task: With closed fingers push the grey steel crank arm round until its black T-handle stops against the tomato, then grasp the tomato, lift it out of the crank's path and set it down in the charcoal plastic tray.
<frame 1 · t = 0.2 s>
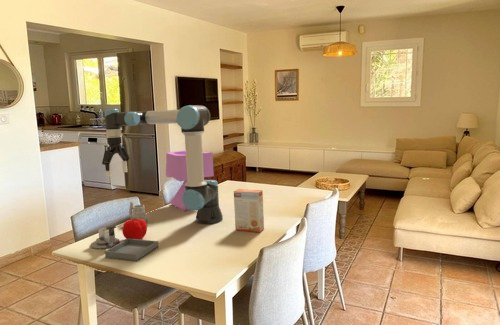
hand: (117, 174, 213), 28 cm above the table, fingers open, 13 cm apart
crank base: (105, 244, 182), on the table
pink table lamp: (191, 205, 249), on the table
crank: (107, 232, 177), point 7 cm above the table, hinge at 0.0°
tray: (132, 252, 170), on the table
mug: (137, 222, 215), on the table
cracker box: (249, 230, 195), on the table
tomato: (135, 239, 187), on the table
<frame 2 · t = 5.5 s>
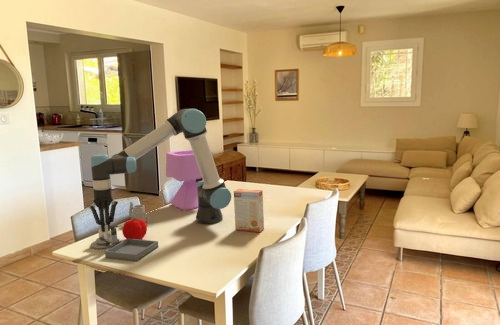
hand: (106, 238, 175), 5 cm above the table, fingers closed
crank: (108, 231, 178), point 7 cm above the table, hinge at 5.4°, touching gripper
everything else where it was.
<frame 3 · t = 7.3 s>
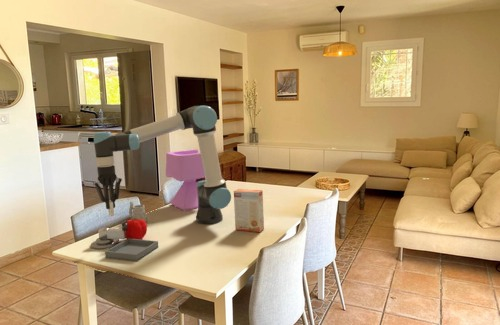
hand: (111, 215, 176), 15 cm above the table, fingers closed
crank: (113, 230, 180), point 7 cm above the table, hinge at 40.4°
everything else where it was.
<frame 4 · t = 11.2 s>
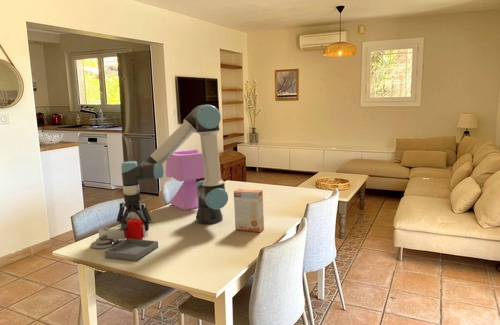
hand: (135, 236, 187), 2 cm above the table, fingers closed on tomato, 11 cm apart
tomato: (136, 239, 187), on the table, touching gripper
everything else where it was.
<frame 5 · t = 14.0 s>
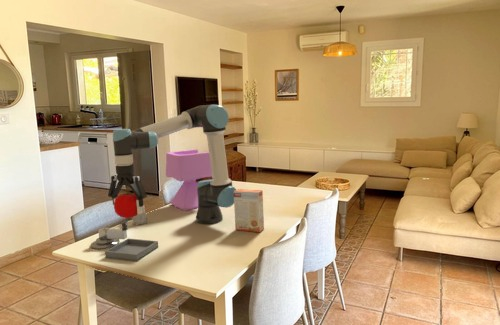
hand: (128, 212, 168), 18 cm above the table, fingers closed on tomato, 11 cm apart
tomato: (129, 217, 168), point 16 cm above the table, touching gripper
everything else where it was.
when the fingers open (5 cm above the table, at t = 17.2 s): tomato drops 2 cm, resting on tray.
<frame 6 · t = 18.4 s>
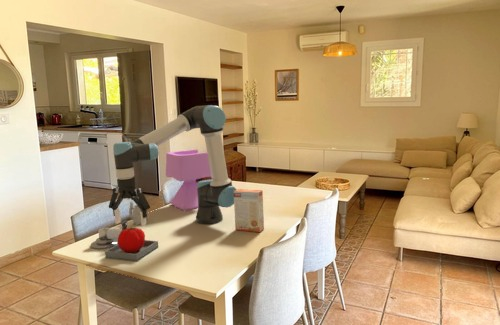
hand: (131, 223, 168), 13 cm above the table, fingers open, 13 cm apart
tomato: (132, 251, 170), point 1 cm above the table, touching tray
everything else where it was.
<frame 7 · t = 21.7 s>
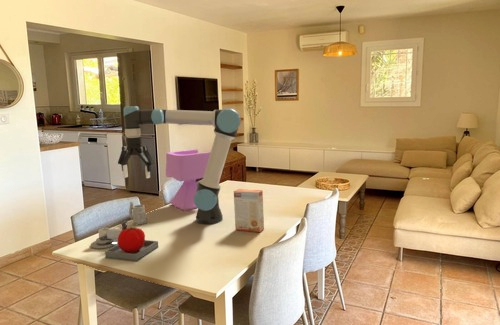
hand: (136, 177, 196), 29 cm above the table, fingers open, 13 cm apart
nothing on the table moved.
at the end: tomato inside the target area (0.1 cm from its centre), point 0.6 cm above the table; crank at +40° (first picture: +0°); the gripper is holding nothing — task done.
